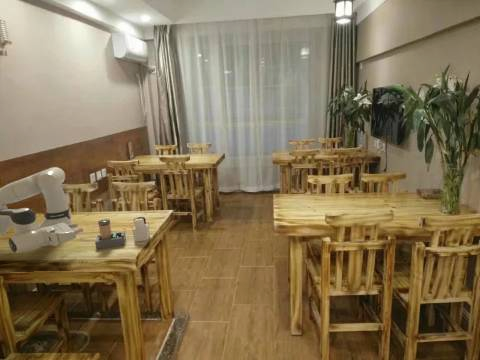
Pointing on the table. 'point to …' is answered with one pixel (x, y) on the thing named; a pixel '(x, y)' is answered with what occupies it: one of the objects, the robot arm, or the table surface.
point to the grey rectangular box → (111, 241)
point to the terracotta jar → (105, 229)
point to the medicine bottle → (141, 230)
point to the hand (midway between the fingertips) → (79, 227)
